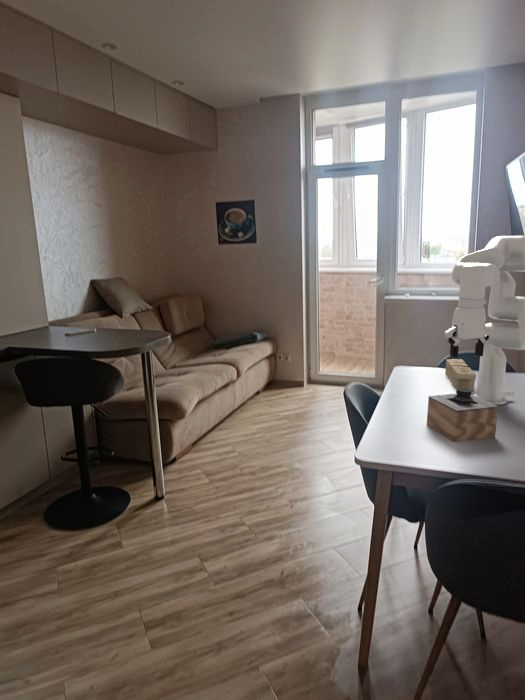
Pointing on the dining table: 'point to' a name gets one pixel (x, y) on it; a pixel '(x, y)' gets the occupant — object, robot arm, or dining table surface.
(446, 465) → the dining table surface
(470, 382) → the block tower
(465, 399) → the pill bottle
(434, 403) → the sleeve block
